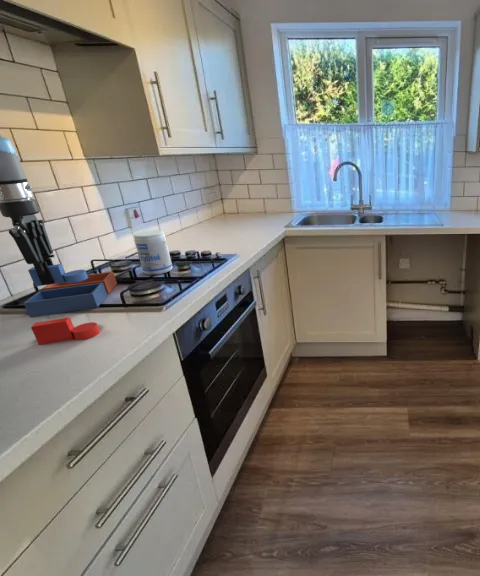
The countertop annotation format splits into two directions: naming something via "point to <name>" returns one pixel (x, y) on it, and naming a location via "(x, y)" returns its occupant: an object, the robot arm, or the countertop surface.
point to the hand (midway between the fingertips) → (50, 281)
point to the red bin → (89, 282)
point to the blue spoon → (59, 275)
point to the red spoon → (63, 330)
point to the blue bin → (65, 299)
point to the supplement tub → (153, 252)
